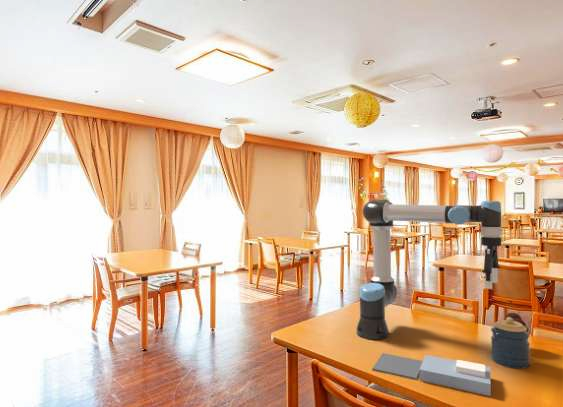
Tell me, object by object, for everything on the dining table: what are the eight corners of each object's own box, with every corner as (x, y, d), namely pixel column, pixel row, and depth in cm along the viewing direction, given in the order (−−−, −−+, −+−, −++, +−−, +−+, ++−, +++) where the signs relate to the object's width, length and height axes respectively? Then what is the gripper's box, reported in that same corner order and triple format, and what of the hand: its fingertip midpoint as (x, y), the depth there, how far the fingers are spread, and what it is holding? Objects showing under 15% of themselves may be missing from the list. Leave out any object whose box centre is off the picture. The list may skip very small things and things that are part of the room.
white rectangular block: (455, 371, 127) (455, 366, 127) (457, 365, 133) (457, 359, 133) (485, 377, 123) (485, 371, 123) (485, 370, 128) (485, 364, 128)
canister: (490, 364, 142) (490, 319, 142) (491, 352, 153) (491, 310, 153) (530, 372, 135) (530, 325, 135) (528, 359, 146) (528, 315, 146)
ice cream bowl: (492, 343, 162) (492, 310, 162) (516, 342, 163) (516, 309, 163) (509, 353, 151) (509, 318, 151) (534, 352, 152) (534, 317, 152)
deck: (419, 380, 130) (419, 369, 130) (425, 364, 142) (425, 354, 142) (490, 396, 119) (490, 384, 119) (490, 377, 131) (490, 366, 131)
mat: (372, 369, 138) (372, 368, 138) (382, 354, 152) (382, 352, 152) (416, 379, 130) (416, 378, 130) (423, 362, 144) (423, 360, 144)
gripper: (496, 239, 145) (496, 292, 145) (505, 234, 164) (505, 281, 164) (475, 238, 150) (475, 289, 150) (486, 233, 169) (486, 279, 169)
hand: (491, 285), depth 157 cm, fingers open, 13 cm apart
